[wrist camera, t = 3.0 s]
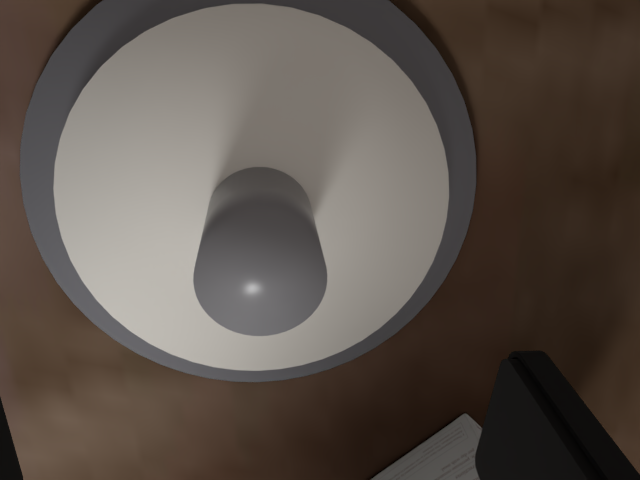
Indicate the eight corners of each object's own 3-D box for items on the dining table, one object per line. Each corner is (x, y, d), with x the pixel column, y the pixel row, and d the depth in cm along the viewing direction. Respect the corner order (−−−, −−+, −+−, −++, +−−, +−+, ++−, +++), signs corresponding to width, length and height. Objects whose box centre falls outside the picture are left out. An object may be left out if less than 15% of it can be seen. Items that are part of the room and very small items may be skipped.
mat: (558, 132, 22) (565, 136, 21) (321, 423, 27) (322, 430, 27) (154, -177, 16) (151, -182, 15) (-43, 272, 21) (-49, 279, 21)
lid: (514, 147, 21) (603, 201, 16) (313, 400, 26) (329, 508, 20) (175, -98, 16) (134, -144, 11) (3, 267, 21) (-86, 362, 15)
